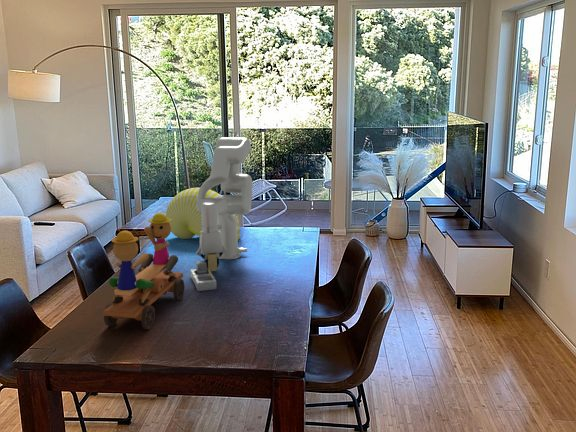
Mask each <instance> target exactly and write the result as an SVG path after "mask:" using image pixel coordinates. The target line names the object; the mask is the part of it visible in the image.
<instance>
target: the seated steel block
mask: <svg viewBox="0 0 576 432" xmlns="http://www.w3.org/2000/svg"><path fill="white" fill-rule="evenodd" d="M195 269H196V275H199V274H207V267H206V262H205V261H204V260H202V261H201V260H198V261H195Z"/></svg>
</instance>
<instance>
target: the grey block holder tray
mask: <svg viewBox="0 0 576 432" xmlns="http://www.w3.org/2000/svg"><path fill="white" fill-rule="evenodd" d="M190 278H191V280H192V282H193V284H194V287H195V288H196V291H198V292H201V291H209V290H217V287H218V286H217V280H216V278H215V276H214V275H213V273H212V271H210V270H209V268H207V274H199V275H196V268H195V269H190Z"/></svg>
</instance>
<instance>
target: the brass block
mask: <svg viewBox="0 0 576 432" xmlns="http://www.w3.org/2000/svg"><path fill="white" fill-rule="evenodd" d="M207 260H208V268H209V270H210V272H214V271H215V272H216V271H218V267H217V254H216V253H209V254H208V255H207Z"/></svg>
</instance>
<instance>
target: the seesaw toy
mask: <svg viewBox="0 0 576 432" xmlns="http://www.w3.org/2000/svg"><path fill="white" fill-rule="evenodd" d="M171 221H172V220H171V219H169V218H167V217H166V213H163V212H156V213H155V214H153V216H152V218H150V219H148V221H147V222H148V223H150V225H149V226H148V225H147V226H145V227H144V228H143V232H144V233H145V234H146V236H147V237H148V239H149V240H150V241H151V243H152V244H153V246H154V247H153V249H154V252H153V253H146V252H143V253H142V254H141V255H140V256H139V257H138V258H137V259H136V260H135V261H134V263H132V260H134V259H135V258H136V257H137V255H138V252H139V246H138V244H137V241H139V237H137V236H134V235H133V233H132V232H131V231H128V230H122V231H119V232H118V234H116V237H114V238H111V242H112V243H114V244H113V245H112V246H113V247H112V253H113V255H114V257H116V259H117V260H119V261H121V263H116V267H118V268H119V275H118V277H117V276H113V277H110V278H109V280H108V285H109V286H110V287H112V288H116V289H114V296H113V299H112V300H113V301H112V302H109V303H108V304H107V305H106V307H105V309H104V310H103V311H102V314H103V321H104V324H105V325H106V327H113V326H115V325H116V324H117V323H118V319H119V320H123V319H125V318H129V319H135V320H136V321H140V322H141V323H140V324H141V327H142V328H143V330H148V331H149V330H151V329H152V327H153V326H154V324H155V320H156V310H155V307H154V306H153V305H152V304H153V303H155V302H156V301H157V300H159V298H160V297H161V296H163V295H166V294H168V293H173V298H174V300H176V301H181V300H182V299H183V297H184V294H185V281H184V280H183V277H184V272H177V271H176V272H175V271H172V270H173V269H174V267H175V266H176V265H177V263H179V257H178V256H177V255H175V254H173V255H170V254H169V250H168V246H169V245H170V242H168V241H167V242H166V239H167V238H168V237H169V236H170V235H171V233H172V232H171V226H170V223H169V222H171ZM138 266H140V267H139V268H138V273H137V274H136V273H135V269H136V268H137V267H138Z"/></svg>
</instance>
